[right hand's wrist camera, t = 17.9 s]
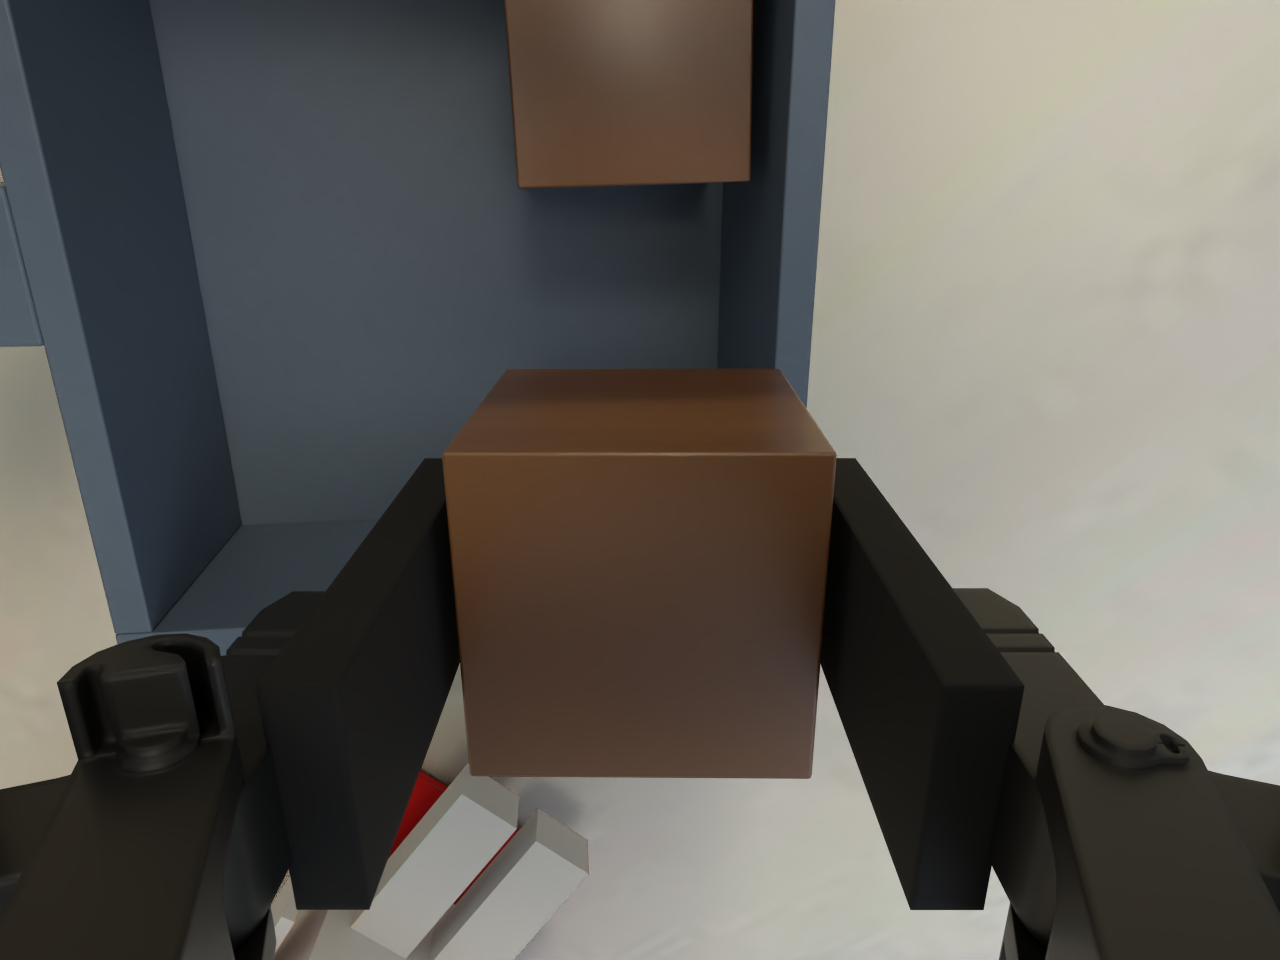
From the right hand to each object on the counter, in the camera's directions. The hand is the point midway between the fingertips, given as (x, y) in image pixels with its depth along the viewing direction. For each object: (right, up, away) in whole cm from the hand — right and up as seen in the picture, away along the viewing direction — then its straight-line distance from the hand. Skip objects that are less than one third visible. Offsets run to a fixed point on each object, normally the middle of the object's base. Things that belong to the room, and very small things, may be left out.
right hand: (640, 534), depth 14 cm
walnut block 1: (-1, +11, +7) cm, 14 cm away
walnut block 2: (0, +1, +2) cm, 2 cm away
